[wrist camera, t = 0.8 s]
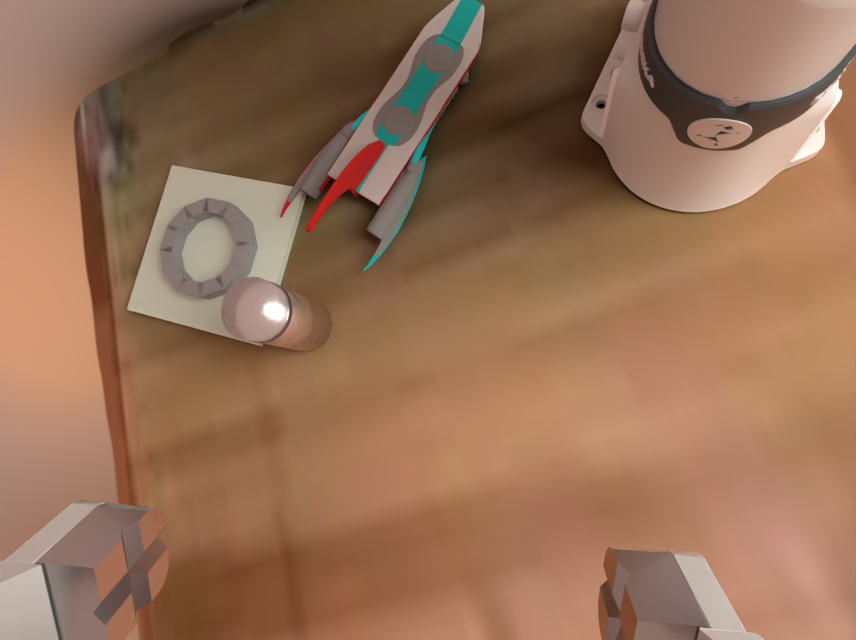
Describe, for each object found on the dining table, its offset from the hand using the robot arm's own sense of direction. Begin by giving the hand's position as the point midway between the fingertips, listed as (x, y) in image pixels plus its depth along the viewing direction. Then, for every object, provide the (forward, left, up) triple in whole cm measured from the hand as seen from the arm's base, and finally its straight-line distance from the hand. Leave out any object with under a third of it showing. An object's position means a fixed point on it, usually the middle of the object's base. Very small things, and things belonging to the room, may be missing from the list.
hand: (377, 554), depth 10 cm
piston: (-5, -22, -37) cm, 43 cm away
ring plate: (-10, -34, -36) cm, 51 cm away
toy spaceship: (-26, -18, -36) cm, 48 cm away
